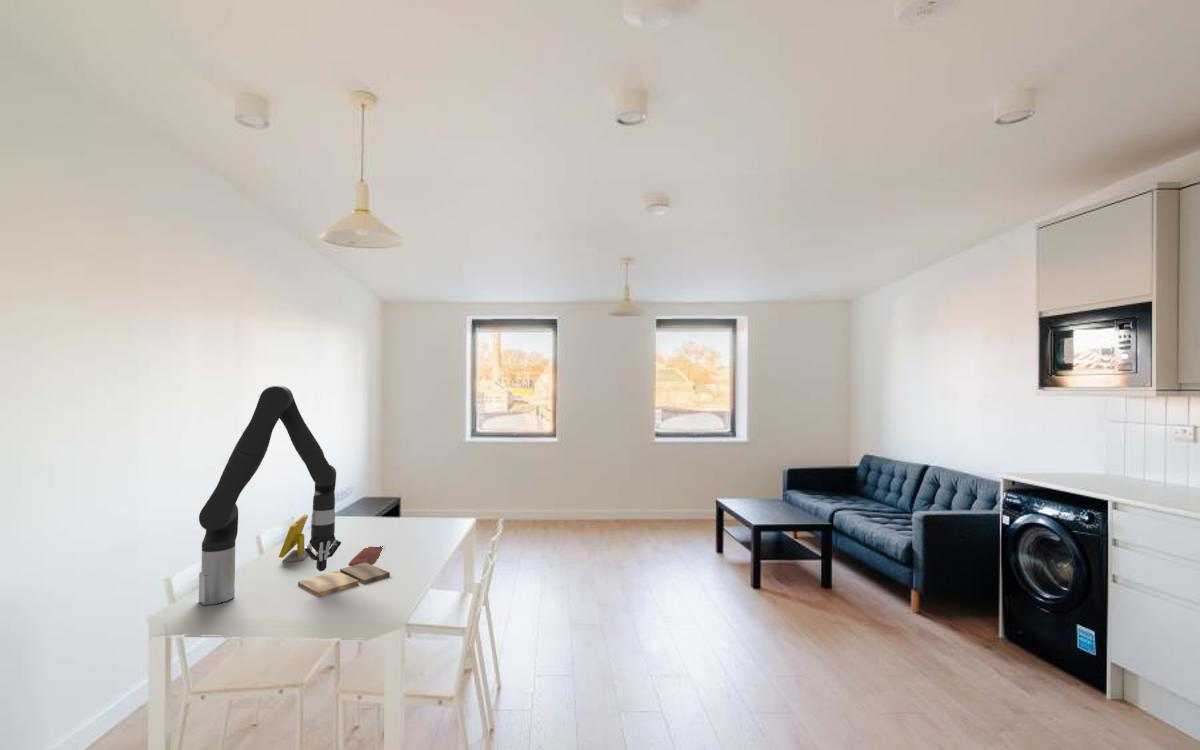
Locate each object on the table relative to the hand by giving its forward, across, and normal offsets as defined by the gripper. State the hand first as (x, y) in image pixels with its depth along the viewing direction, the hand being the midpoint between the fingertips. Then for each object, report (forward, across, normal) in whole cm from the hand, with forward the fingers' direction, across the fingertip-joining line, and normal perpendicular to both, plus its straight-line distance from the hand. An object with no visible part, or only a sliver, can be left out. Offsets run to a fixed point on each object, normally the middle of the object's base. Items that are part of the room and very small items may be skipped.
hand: (321, 570), depth 191 cm
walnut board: (+6, +16, 0) cm, 17 cm away
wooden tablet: (+7, +29, +21) cm, 36 cm away
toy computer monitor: (+7, +9, +42) cm, 44 cm away
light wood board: (+6, +2, 0) cm, 6 cm away
